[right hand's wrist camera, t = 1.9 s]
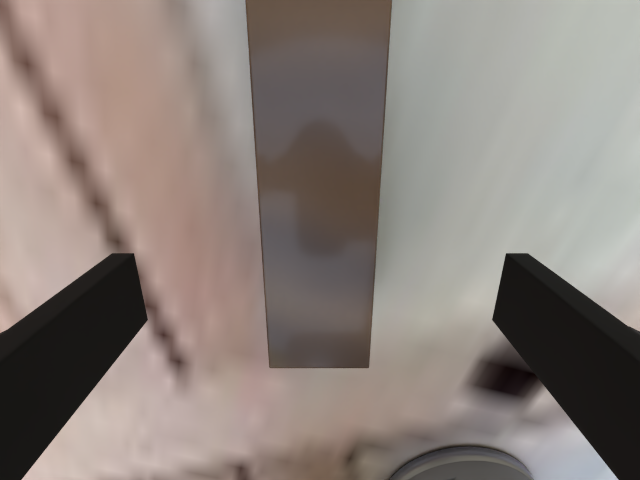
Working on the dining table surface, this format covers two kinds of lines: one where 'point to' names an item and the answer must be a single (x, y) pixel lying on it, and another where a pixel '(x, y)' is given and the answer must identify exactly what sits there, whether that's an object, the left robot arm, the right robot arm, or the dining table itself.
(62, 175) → the dining table surface
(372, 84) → the post
